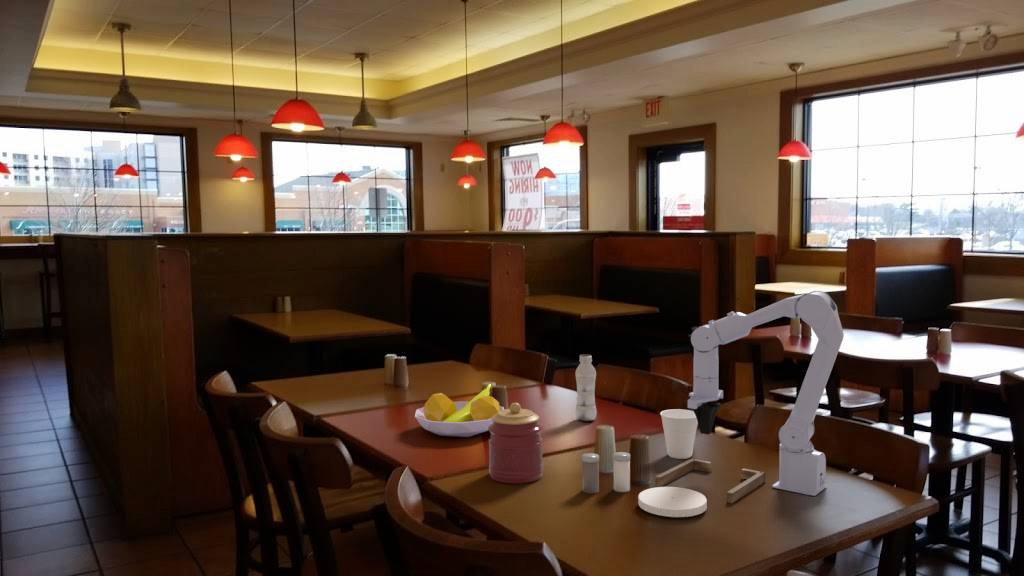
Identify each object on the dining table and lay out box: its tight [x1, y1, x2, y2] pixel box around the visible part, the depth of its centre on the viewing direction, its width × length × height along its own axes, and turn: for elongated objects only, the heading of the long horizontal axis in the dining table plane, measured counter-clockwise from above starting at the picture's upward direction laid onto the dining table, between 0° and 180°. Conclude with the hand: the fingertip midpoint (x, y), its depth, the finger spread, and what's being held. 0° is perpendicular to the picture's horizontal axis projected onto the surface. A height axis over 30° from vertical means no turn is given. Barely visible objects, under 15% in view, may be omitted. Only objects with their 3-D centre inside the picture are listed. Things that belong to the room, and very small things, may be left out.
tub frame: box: [654, 457, 766, 504], centre depth 178 cm, size 18×18×2 cm
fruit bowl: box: [414, 383, 505, 438], centre depth 228 cm, size 28×27×11 cm
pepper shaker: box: [581, 452, 600, 495], centre depth 175 cm, size 4×4×8 cm
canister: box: [488, 402, 544, 485], centre depth 186 cm, size 13×13×18 cm
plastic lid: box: [637, 486, 708, 518], centre depth 164 cm, size 14×14×2 cm
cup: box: [659, 408, 698, 460], centre depth 200 cm, size 10×10×11 cm
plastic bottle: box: [575, 354, 598, 422], centre depth 238 cm, size 6×7×20 cm
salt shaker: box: [612, 451, 631, 493], centre depth 175 cm, size 4×4×8 cm
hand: (705, 433), depth 184 cm, fingers closed
